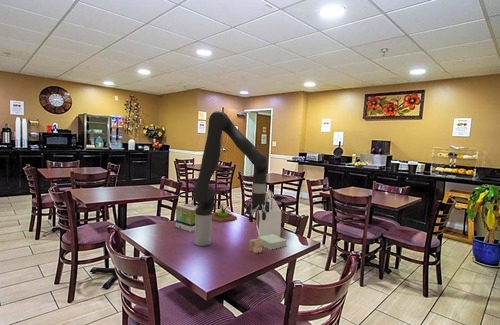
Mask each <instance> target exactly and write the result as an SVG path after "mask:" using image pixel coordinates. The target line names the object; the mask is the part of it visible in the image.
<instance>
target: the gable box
mask: <svg viewBox="0 0 500 325" xmlns="http://www.w3.org/2000/svg"><path fill="white" fill-rule="evenodd" d="M274 197H275V194H274V193H273V191H272V190H270V189H269V188H268V189H267V192H266V199H265V201H268V202H269V212H267V213H266V219H265V220H262V213H263V212H262V211H261V210H258V211H256V226H255V227H256V230H257V234H258V237H260V236H265V235H270V234H274V235H276V236H279V237H281V228H282V214H283V211H282V210H281V208H280V207H279V205H278V203H277V201H276V200H275V198H274ZM264 208H265V205H264Z"/></svg>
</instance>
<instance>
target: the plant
mask: <svg viewBox="0 0 500 325" xmlns="http://www.w3.org/2000/svg"><path fill="white" fill-rule="evenodd" d="M218 207H219V208H218V209H221V210H218V211H216V212H214V213H212V222H215V223H229V222H235V221H237V220H238V217H237V216H236V215H235V214H232V213H230V211H229V212H228V210H230V209H231V207H229V206H226V207H225V208H224V206H223V205H222V204H220V205H219V206H218ZM227 209H228V210H227Z"/></svg>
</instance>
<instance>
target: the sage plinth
mask: <svg viewBox="0 0 500 325" xmlns="http://www.w3.org/2000/svg"><path fill="white" fill-rule="evenodd" d="M256 239H259V240H261V241H263V245H262V247H263V246H264V248H265V247H266V248H265V249H267V248H268V250H269V249H270V250H269V251H273V250H277V249H280V247H281V248H284V247H286V246H287V239H286V238H282V237H281V236H280V237H279V236H276V235H274V234H270V235H265V236H260V237H259V236H257V238H256ZM276 248H277V249H276ZM272 249H273V250H272Z"/></svg>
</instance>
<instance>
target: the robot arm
mask: <svg viewBox="0 0 500 325" xmlns="http://www.w3.org/2000/svg"><path fill="white" fill-rule="evenodd" d="M208 119H209V120H208V125H207V126H208V128H207V136H206V140H205V144H204V150H203V153H202V158H201V162H200V169H199V172H198V177H197V180H196V183H195V187H194V190H193V199H194V200H195V202H196V203H198V205H197V208H196V215H195V231H194V237H193V238H194V239H193V241H194V244H195V245H196V246H198V247H205V246H209V245H211V242H212V240H211V239H212V222H213V221H212V214H213V210H214V206H215V199H216V198H215V195H216V194H215V190H214V187H212V186H211V185H210V181H211V179H212V177H213V175H214V173H215V172H216V171H217V168H218V165H219V161H220V159H221V158H220V157H221V135H222V132H223V133H225V134H226V135H227V136H228V137H229V138H230V139H231V141H232V142H233V143H234V144H235V146H236V147H237V149H238V150H240V152H241V153H243V154H244V156H245V157H247V159H248V160H249V162H251V164H252V165H253V166H254V172H253V176H252V187H251V203H249V202H247V203H246V210H245V214H246V215H248V222H249V223H253V222H254V214H255V213H257V211H258V210H261V211H262V212H263V213H262V220H265V219H266V213H267V212H269V202H268V201H265V199H266V193H267V170H268V157H267V156H266V155H264V154H262V153H261V152H260V151H259V150H257V148H256V146H255V145H254V144H253V143H252V142H251V141H250V140H249V139H248V138H247V137H246V136H245V135H244V134H243V133H242V132H241V131H240V130H239V129H238V128H237V127H236V125H235V124H234V123H233V122H232V120H231V119H230V118H229V116H228V115H227V113H226V112H223V111H214V112H212V113H211V114H210V116H209V118H208ZM264 205H265V208H264Z"/></svg>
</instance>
